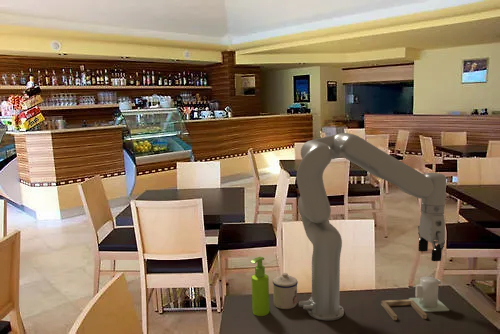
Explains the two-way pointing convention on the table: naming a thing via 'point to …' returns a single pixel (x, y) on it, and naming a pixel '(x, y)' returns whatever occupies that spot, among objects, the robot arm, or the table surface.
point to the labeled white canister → (428, 291)
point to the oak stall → (402, 302)
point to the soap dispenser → (260, 289)
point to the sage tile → (439, 308)
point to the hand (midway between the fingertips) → (429, 255)
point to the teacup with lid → (285, 291)
